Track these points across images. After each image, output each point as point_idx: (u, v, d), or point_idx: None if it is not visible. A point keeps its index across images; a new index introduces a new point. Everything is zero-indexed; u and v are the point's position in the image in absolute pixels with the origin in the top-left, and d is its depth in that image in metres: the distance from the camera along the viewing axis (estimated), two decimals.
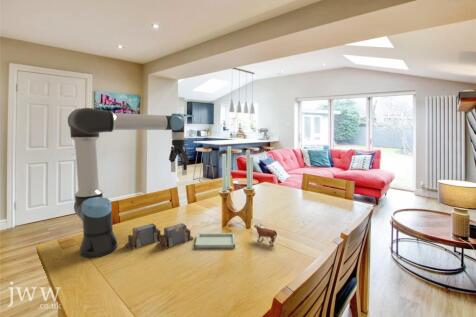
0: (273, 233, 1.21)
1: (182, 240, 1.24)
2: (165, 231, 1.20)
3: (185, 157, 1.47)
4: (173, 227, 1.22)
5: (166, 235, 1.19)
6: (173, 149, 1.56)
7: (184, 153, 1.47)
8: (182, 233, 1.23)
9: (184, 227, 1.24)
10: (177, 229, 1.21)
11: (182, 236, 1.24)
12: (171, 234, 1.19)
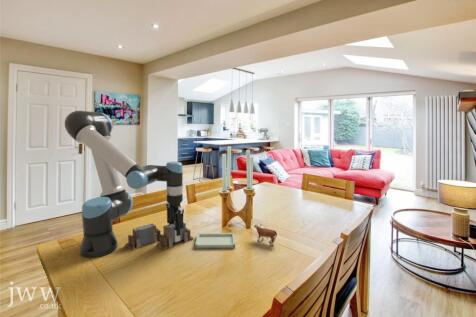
0: (273, 233, 1.21)
1: (181, 238, 1.24)
2: (164, 229, 1.20)
3: (180, 222, 1.18)
4: (172, 225, 1.22)
5: (165, 233, 1.19)
6: (169, 206, 1.24)
7: (180, 217, 1.17)
8: (181, 231, 1.23)
9: (183, 225, 1.24)
10: None
11: (181, 234, 1.24)
12: (170, 232, 1.19)
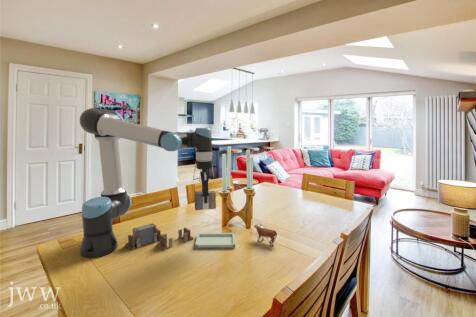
0: (273, 233, 1.21)
1: (211, 207, 1.20)
2: (194, 194, 1.20)
3: (205, 188, 1.15)
4: (202, 192, 1.20)
5: None
6: None
7: (204, 183, 1.14)
8: (211, 200, 1.20)
9: (213, 194, 1.20)
10: None
11: (211, 203, 1.20)
12: (198, 198, 1.18)
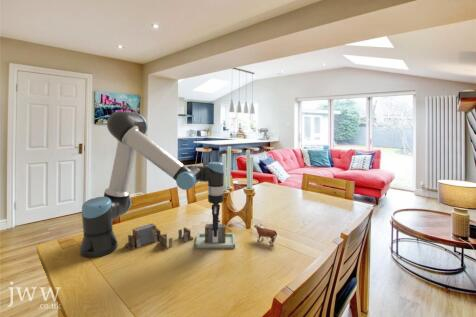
0: (273, 233, 1.21)
1: (220, 241, 1.22)
2: (205, 227, 1.24)
3: (214, 222, 1.16)
4: None
5: (205, 231, 1.23)
6: None
7: (214, 217, 1.16)
8: (220, 234, 1.22)
9: (223, 228, 1.22)
10: None
11: (220, 237, 1.22)
12: (208, 231, 1.21)
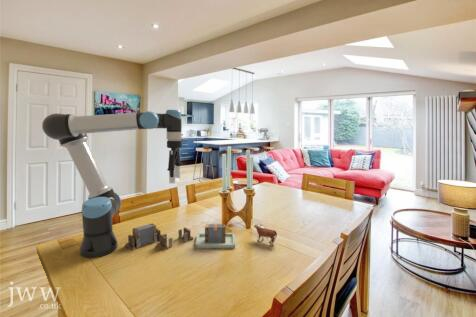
0: (273, 233, 1.21)
1: (220, 241, 1.22)
2: (205, 227, 1.24)
3: (170, 162, 1.22)
4: (213, 225, 1.23)
5: (205, 231, 1.23)
6: None
7: (170, 157, 1.22)
8: (220, 234, 1.22)
9: (223, 228, 1.22)
10: (215, 228, 1.21)
11: (220, 237, 1.22)
12: (208, 231, 1.21)
